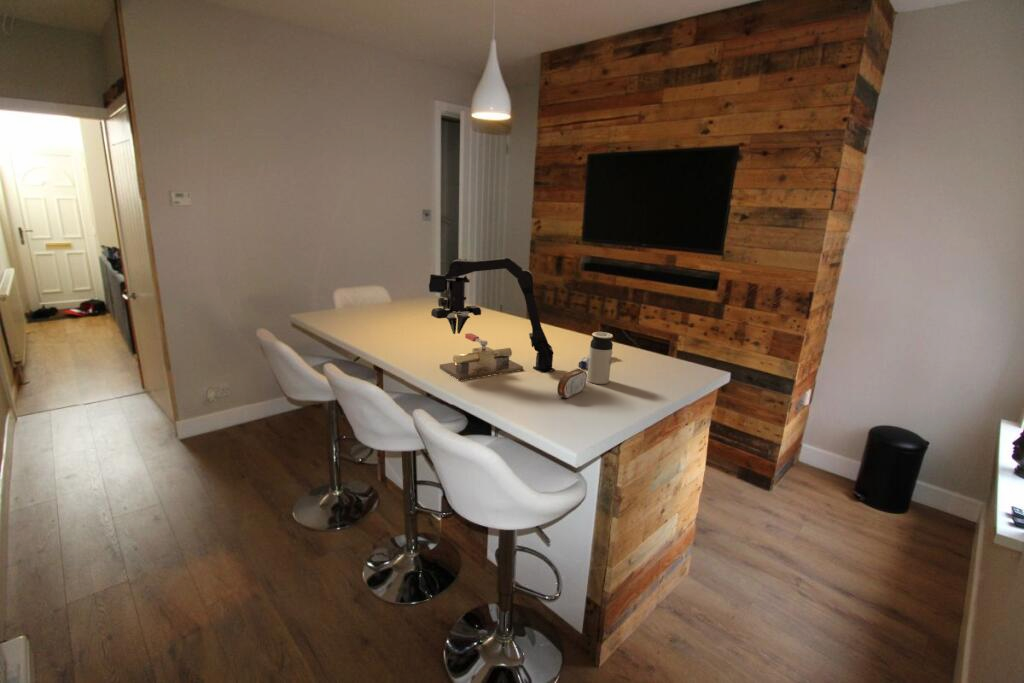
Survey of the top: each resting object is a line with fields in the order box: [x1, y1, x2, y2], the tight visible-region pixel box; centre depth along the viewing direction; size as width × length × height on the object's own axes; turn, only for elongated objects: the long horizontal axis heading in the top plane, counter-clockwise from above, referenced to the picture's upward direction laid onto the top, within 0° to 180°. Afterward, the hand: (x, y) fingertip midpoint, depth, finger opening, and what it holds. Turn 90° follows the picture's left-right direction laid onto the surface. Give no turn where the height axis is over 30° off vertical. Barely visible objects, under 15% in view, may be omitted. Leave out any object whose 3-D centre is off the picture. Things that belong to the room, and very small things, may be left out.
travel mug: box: [586, 331, 614, 385], centre depth 177 cm, size 8×8×18 cm
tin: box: [557, 368, 588, 399], centre depth 164 cm, size 15×3×8 cm, turn 141°
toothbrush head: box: [578, 355, 589, 370], centre depth 202 cm, size 5×7×25 cm
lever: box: [464, 333, 489, 346], centre depth 187 cm, size 14×3×2 cm, turn 34°
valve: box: [439, 345, 524, 382], centre depth 185 cm, size 16×28×10 cm, turn 124°
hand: (456, 333), depth 185 cm, fingers closed
